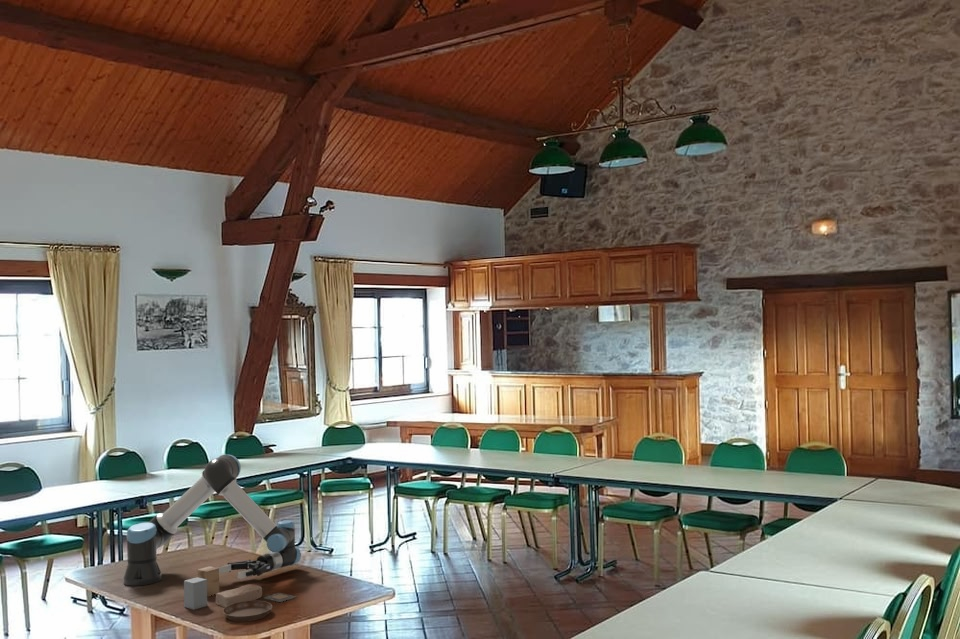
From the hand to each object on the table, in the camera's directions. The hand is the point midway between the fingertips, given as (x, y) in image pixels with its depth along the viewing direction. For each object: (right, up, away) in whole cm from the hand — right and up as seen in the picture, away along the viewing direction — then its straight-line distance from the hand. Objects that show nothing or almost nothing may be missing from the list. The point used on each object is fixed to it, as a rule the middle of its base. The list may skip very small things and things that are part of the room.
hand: (227, 573), depth 374 cm
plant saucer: (+17, -6, -37) cm, 41 cm away
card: (+25, -5, -16) cm, 30 cm away
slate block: (-6, -6, -24) cm, 25 cm away
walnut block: (-6, -6, -7) cm, 11 cm away
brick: (+9, -6, -18) cm, 21 cm away
